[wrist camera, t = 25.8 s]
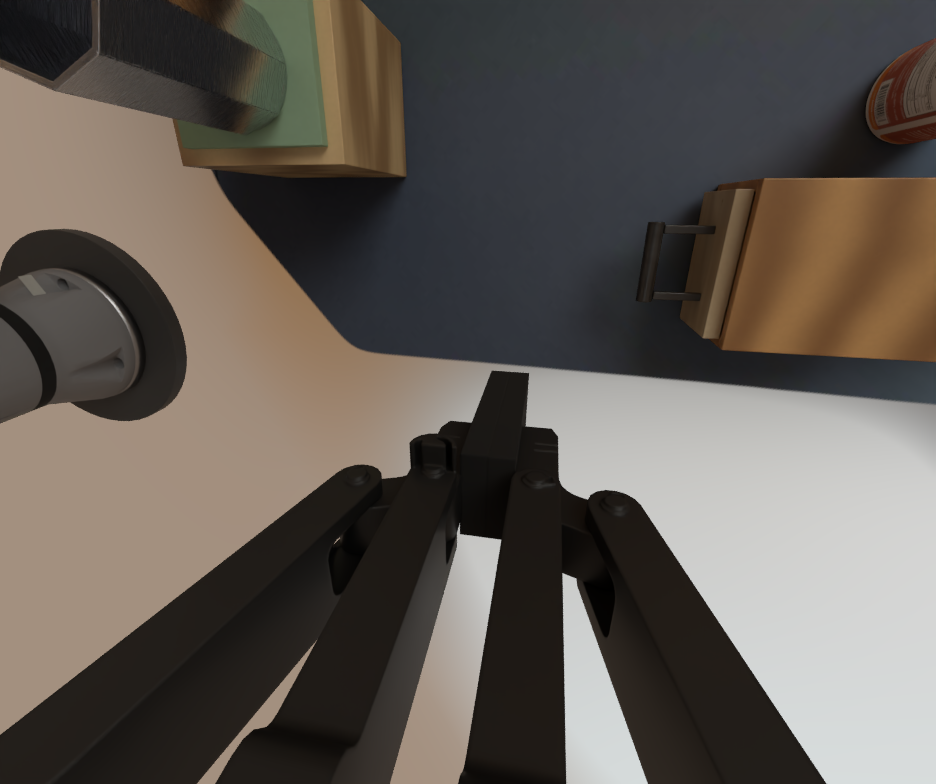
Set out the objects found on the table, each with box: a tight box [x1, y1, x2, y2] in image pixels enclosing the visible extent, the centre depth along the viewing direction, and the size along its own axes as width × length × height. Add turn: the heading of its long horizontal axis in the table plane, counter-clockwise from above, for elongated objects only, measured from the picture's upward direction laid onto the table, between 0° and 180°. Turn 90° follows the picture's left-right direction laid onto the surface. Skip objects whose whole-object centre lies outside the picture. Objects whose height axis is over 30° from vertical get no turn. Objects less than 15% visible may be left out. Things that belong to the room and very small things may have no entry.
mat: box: [177, 0, 328, 149], centre depth 27 cm, size 10×8×1 cm
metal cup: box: [0, 0, 287, 135], centre depth 21 cm, size 6×6×12 cm
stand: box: [172, 0, 406, 178], centre depth 33 cm, size 12×10×13 cm
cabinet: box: [709, 178, 936, 362], centre depth 33 cm, size 15×12×9 cm
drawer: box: [636, 189, 755, 339], centre depth 34 cm, size 18×10×7 cm, turn 90°
